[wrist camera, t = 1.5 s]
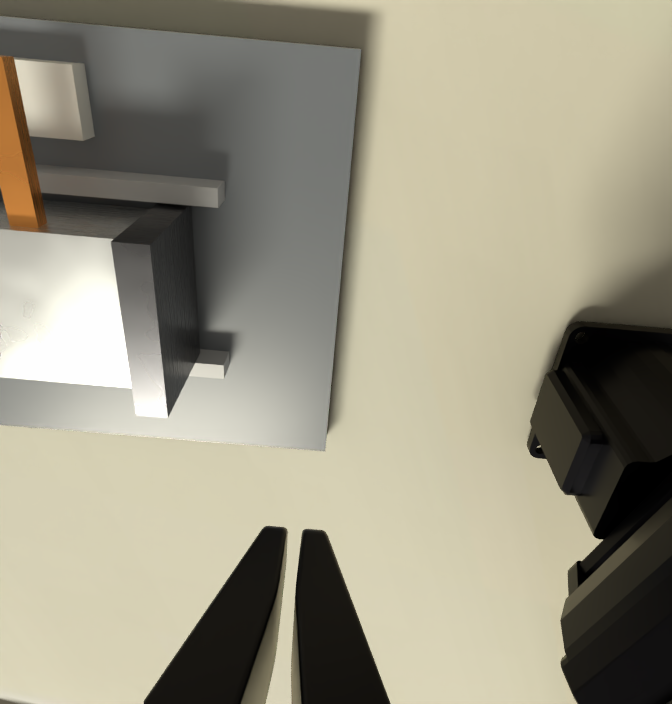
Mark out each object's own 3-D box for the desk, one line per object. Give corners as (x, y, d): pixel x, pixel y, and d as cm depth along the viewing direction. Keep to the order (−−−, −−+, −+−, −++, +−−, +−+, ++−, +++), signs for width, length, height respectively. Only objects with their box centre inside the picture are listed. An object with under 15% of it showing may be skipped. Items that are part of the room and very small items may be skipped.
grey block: (183, 65, 15) (131, 74, 12) (200, 352, 20) (167, 418, 16) (-66, 43, 15) (-191, 44, 12) (12, 336, 20) (-60, 399, 16)
